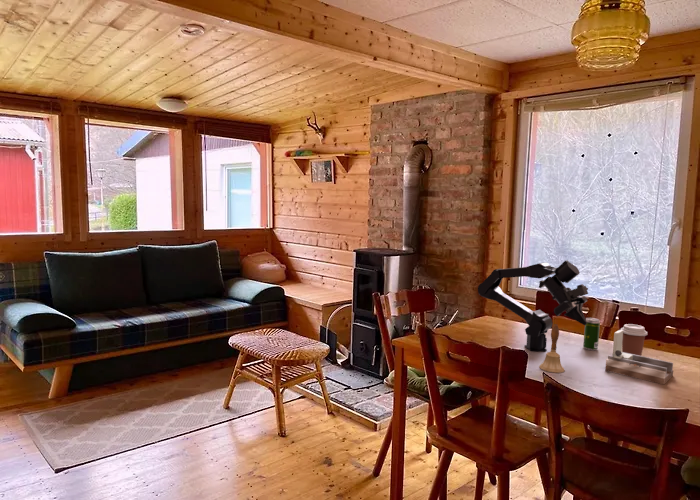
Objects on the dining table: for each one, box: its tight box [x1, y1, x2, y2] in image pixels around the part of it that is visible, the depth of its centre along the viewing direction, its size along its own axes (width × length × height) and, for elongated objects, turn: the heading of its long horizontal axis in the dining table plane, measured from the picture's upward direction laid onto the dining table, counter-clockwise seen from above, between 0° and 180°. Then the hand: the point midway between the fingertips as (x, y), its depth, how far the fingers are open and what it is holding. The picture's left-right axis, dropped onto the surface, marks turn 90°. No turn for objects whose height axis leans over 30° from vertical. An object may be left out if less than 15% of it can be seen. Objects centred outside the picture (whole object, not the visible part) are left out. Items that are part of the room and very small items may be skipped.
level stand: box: [604, 351, 674, 385], centre depth 179 cm, size 18×12×5 cm, turn 46°
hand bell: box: [538, 323, 565, 374], centre depth 180 cm, size 8×8×16 cm
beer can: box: [582, 317, 601, 351], centre depth 206 cm, size 5×5×12 cm
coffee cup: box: [619, 323, 648, 356], centre depth 196 cm, size 9×9×12 cm
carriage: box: [611, 329, 633, 360], centre depth 181 cm, size 5×9×11 cm, turn 136°
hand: (586, 324), depth 190 cm, fingers closed
